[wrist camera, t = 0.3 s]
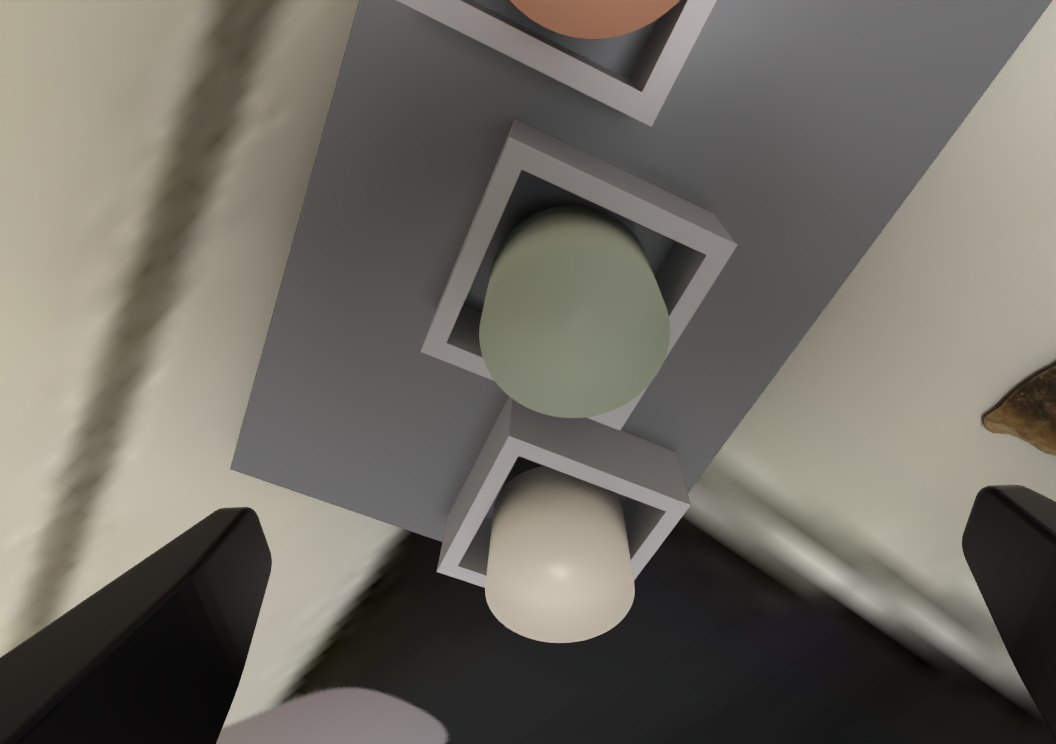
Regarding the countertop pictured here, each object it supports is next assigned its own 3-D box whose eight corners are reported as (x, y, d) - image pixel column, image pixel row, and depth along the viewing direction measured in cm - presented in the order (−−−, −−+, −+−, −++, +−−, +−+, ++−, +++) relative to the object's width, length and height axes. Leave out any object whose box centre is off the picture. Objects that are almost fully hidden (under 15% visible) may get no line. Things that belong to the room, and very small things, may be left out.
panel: (1059, -50, 15) (1193, -64, 12) (607, 578, 25) (615, 658, 22) (486, -412, 12) (465, -551, 9) (242, 450, 22) (194, 521, 19)
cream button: (647, 492, 20) (662, 568, 17) (586, 578, 21) (592, 658, 19) (525, 446, 19) (521, 517, 16) (473, 539, 21) (462, 616, 18)
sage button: (680, 247, 16) (707, 295, 13) (604, 377, 18) (614, 442, 15) (529, 177, 15) (525, 213, 12) (466, 320, 17) (451, 378, 14)
